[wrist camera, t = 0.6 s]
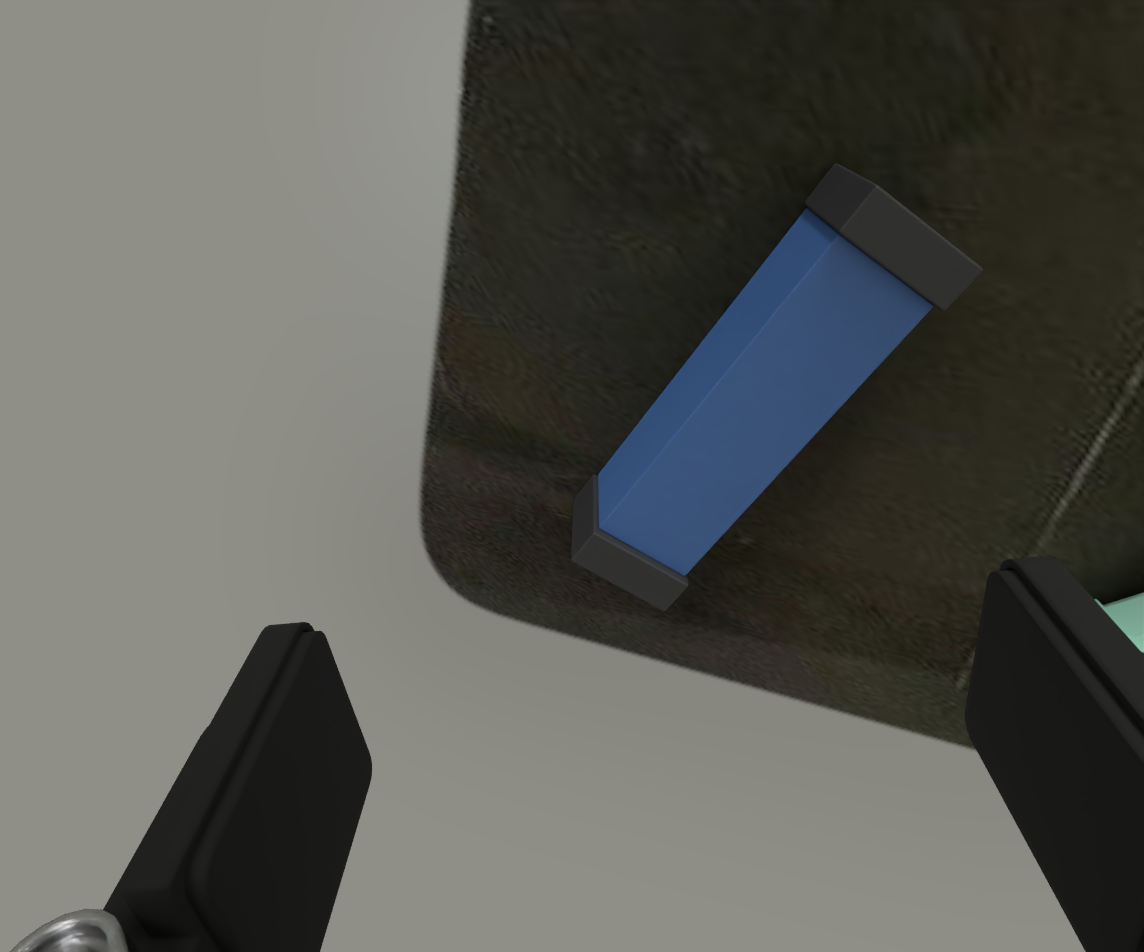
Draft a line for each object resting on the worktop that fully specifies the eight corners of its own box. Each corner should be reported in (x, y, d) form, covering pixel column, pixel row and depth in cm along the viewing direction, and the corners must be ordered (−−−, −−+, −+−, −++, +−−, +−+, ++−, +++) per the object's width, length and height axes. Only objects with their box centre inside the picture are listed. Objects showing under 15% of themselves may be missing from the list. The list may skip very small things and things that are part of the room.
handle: (834, 161, 26) (877, 184, 22) (929, 235, 27) (985, 270, 23) (572, 499, 32) (570, 561, 29) (656, 547, 34) (664, 613, 30)
